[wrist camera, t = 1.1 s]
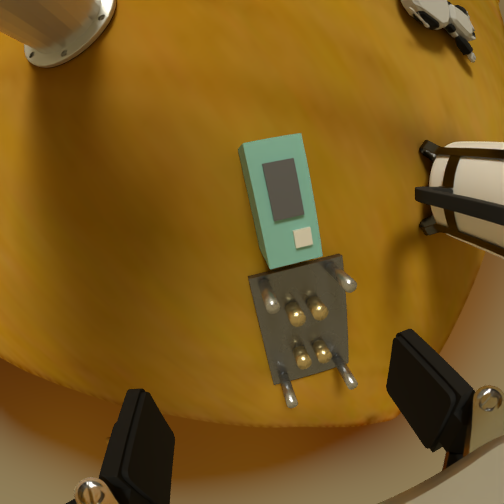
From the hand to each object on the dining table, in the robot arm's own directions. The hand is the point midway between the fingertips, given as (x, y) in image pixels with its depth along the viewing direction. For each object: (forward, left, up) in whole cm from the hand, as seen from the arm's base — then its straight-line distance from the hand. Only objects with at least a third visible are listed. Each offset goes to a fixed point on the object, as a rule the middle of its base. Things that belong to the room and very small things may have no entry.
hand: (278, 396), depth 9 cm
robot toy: (-28, +33, -20) cm, 47 cm away
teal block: (-5, +4, -20) cm, 21 cm away
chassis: (+10, +5, -20) cm, 23 cm away
